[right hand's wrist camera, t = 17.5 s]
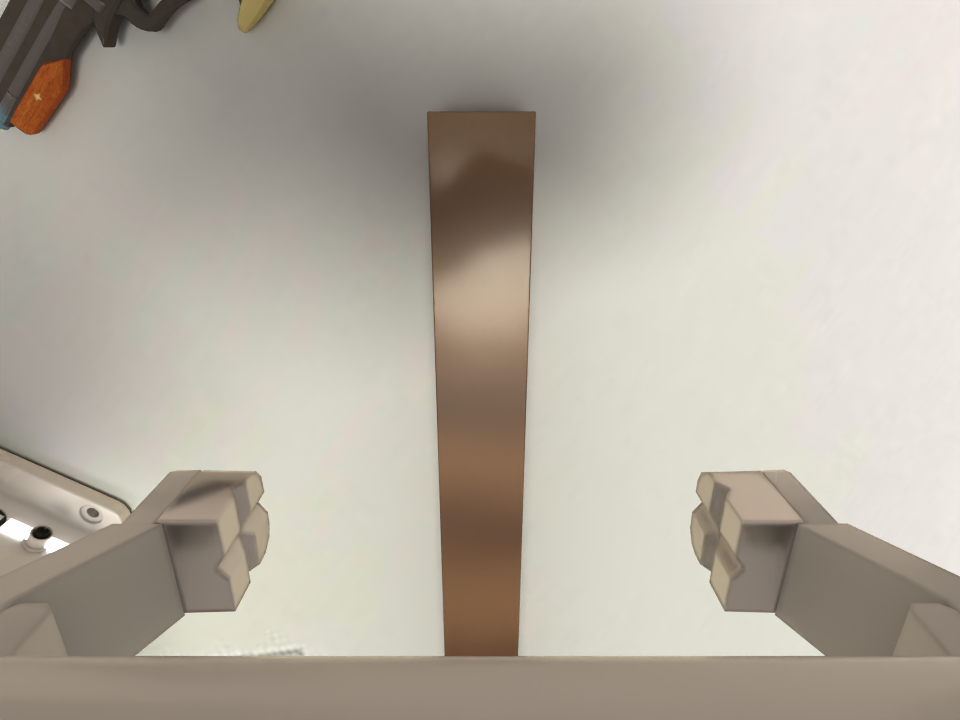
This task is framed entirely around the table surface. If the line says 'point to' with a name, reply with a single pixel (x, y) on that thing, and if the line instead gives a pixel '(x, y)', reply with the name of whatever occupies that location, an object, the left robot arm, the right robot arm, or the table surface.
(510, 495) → the post
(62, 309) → the table surface
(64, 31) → the toy gun
